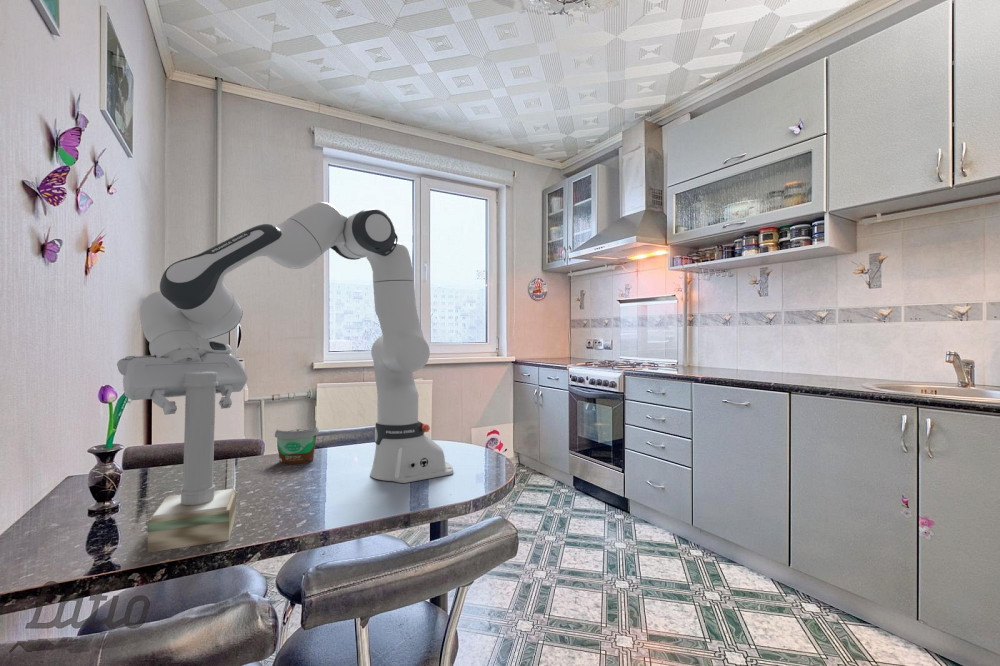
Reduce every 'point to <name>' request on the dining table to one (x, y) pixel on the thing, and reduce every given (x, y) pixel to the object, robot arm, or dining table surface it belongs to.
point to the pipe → (199, 437)
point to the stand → (192, 522)
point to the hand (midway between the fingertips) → (200, 409)
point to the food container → (296, 446)
